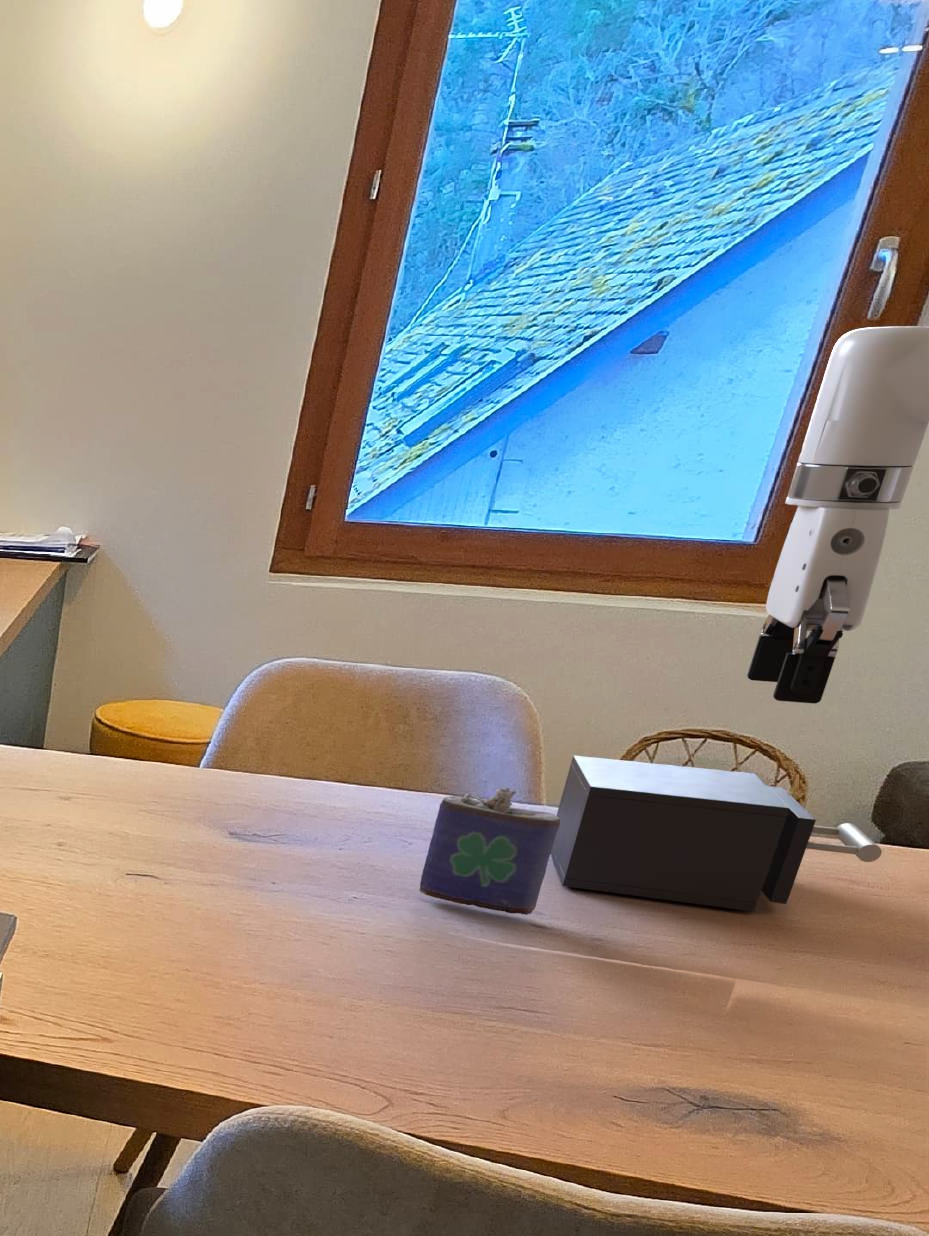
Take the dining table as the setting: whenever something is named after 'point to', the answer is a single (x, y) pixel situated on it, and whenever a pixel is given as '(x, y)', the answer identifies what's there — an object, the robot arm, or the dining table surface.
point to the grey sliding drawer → (808, 847)
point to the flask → (489, 853)
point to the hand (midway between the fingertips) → (781, 690)
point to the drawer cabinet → (667, 832)
